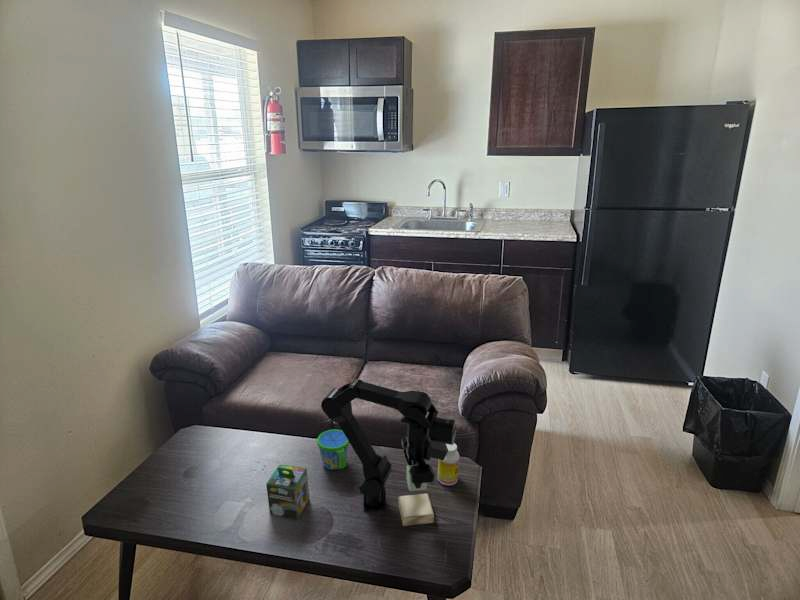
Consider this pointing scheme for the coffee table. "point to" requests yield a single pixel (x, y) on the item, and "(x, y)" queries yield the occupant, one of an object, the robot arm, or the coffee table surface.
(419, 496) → the oak riser block
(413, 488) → the sage cube
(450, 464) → the supplement bottle
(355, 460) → the coffee table surface
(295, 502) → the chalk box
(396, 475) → the coffee table surface
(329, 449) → the snack cup
